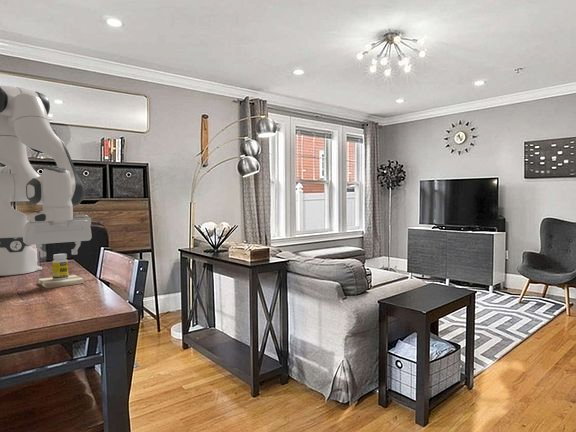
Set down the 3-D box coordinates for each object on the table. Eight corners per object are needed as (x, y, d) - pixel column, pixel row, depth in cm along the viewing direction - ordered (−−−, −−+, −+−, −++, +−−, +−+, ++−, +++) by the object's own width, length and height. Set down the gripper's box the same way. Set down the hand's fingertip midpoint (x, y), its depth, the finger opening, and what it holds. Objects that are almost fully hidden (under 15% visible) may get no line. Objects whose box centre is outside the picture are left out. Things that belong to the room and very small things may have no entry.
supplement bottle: (61, 280, 131) (60, 255, 131) (49, 280, 132) (48, 255, 132) (71, 277, 136) (71, 253, 136) (60, 277, 137) (59, 253, 137)
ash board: (38, 283, 135) (38, 278, 135) (73, 278, 143) (73, 274, 142) (46, 288, 126) (46, 284, 126) (83, 283, 134) (83, 278, 134)
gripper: (88, 213, 143) (89, 251, 144) (21, 215, 129) (22, 257, 130) (93, 214, 138) (94, 253, 139) (24, 216, 124) (26, 260, 125)
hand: (59, 255), depth 134 cm, fingers open, 8 cm apart
